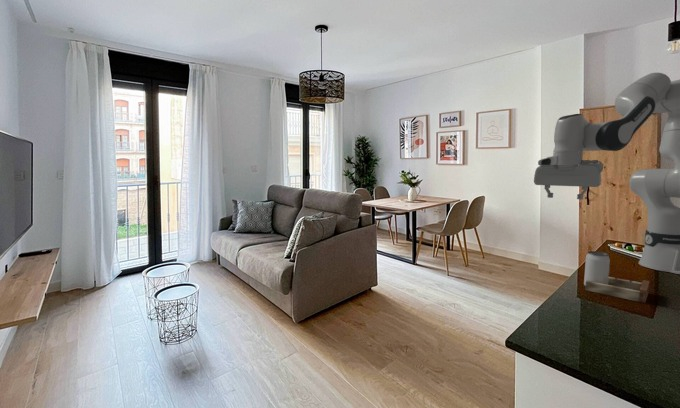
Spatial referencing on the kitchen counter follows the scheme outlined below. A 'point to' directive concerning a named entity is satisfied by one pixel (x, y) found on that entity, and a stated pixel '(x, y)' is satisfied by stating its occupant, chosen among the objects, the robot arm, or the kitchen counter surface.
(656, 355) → the kitchen counter surface
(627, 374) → the kitchen counter surface
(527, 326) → the kitchen counter surface
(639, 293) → the wooden rack
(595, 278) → the can
